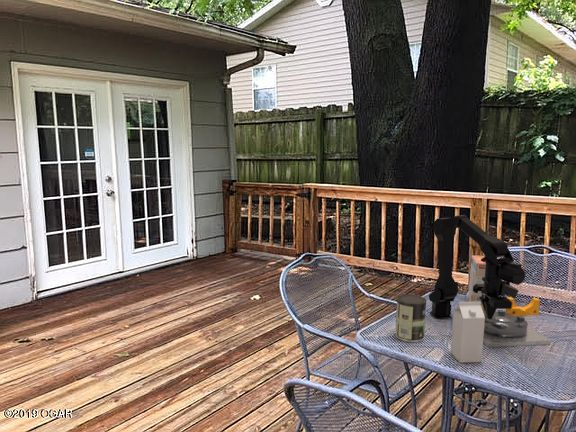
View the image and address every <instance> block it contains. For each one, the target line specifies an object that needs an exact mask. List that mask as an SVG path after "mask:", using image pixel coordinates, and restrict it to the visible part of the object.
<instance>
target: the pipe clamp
mask: <svg viewBox="0 0 576 432" xmlns="http://www.w3.org/2000/svg"><path fill="white" fill-rule="evenodd" d="M506 298H507V299H509V300H510V301H511V302H512V309H505V313H508V314H512V315H515V316H522V317H527V315H528V316H539V313H540V304H541V303H540V302H541V300H540V299H539V298H537V297H531V301H530V302H529V304H527V305H525V306H518V305H517V304H516V303H515V298H512V297H511V296H506Z"/></svg>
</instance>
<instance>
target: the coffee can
mask: <svg viewBox="0 0 576 432" xmlns="http://www.w3.org/2000/svg"><path fill="white" fill-rule="evenodd" d="M427 301H428V300H427V299H426V298H425V297H423V296H421V295H417V294H407V293H406V294H401V295H397V296H396V313H395V314H396V317H395V331H394V333H395V334H394V336H395V337H396V338H397V339H398V340H399V341H403V342H407V343H421V342H422V341H424V339H425V330H426V329H425V325H426V314H427V312H426V310H427Z"/></svg>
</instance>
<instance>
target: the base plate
mask: <svg viewBox="0 0 576 432" xmlns="http://www.w3.org/2000/svg"><path fill="white" fill-rule="evenodd" d="M483 345H484V346H486V347H487V348H501V347H502V348H503V347H522V346H523V347H524V346H541V345H542V346H544V345H546V346H547V345H551V339H549V338H548V337H546V336H545V335H543V334H541V333H540V332H539V331H537V330H535V329H534V328H532V327H530V326H529V325H528V326H527V333H526V335H524V336H521V337H502V336H497V335H493V334H489V333H487V332H484V335H483Z"/></svg>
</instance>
